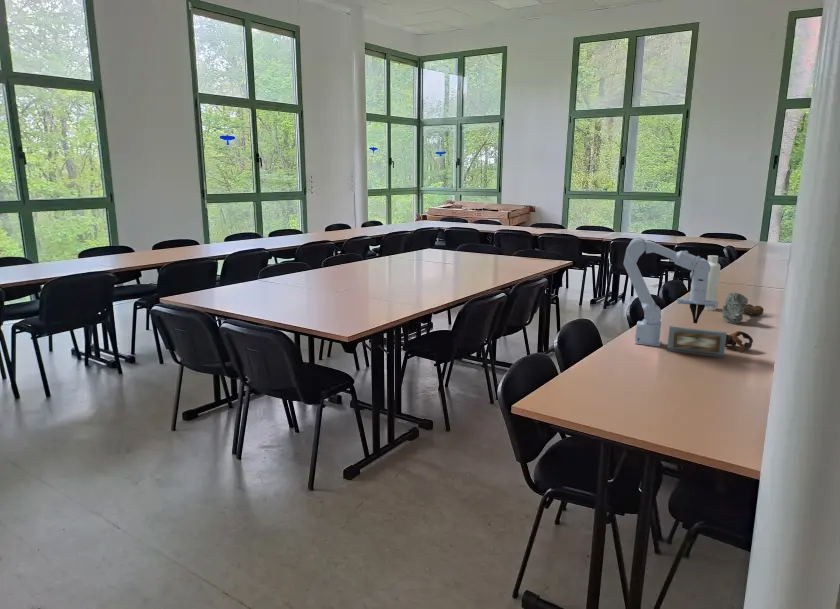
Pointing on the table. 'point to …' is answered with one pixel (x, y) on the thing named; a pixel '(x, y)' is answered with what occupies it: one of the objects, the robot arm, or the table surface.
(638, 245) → the robot arm
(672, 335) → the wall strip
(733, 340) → the pottery mug
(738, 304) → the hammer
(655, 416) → the table surface
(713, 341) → the brown rectangular panel
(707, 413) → the table surface
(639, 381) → the table surface
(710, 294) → the bottle
